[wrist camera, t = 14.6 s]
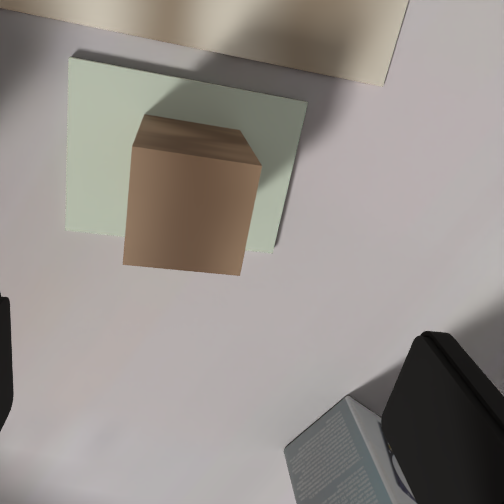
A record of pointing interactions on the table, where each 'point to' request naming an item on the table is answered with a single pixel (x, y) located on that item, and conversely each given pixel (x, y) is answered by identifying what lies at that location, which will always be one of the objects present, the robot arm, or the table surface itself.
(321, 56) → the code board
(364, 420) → the hard drive box
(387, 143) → the table surface
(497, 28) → the table surface
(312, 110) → the table surface
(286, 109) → the mat
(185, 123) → the walnut block
